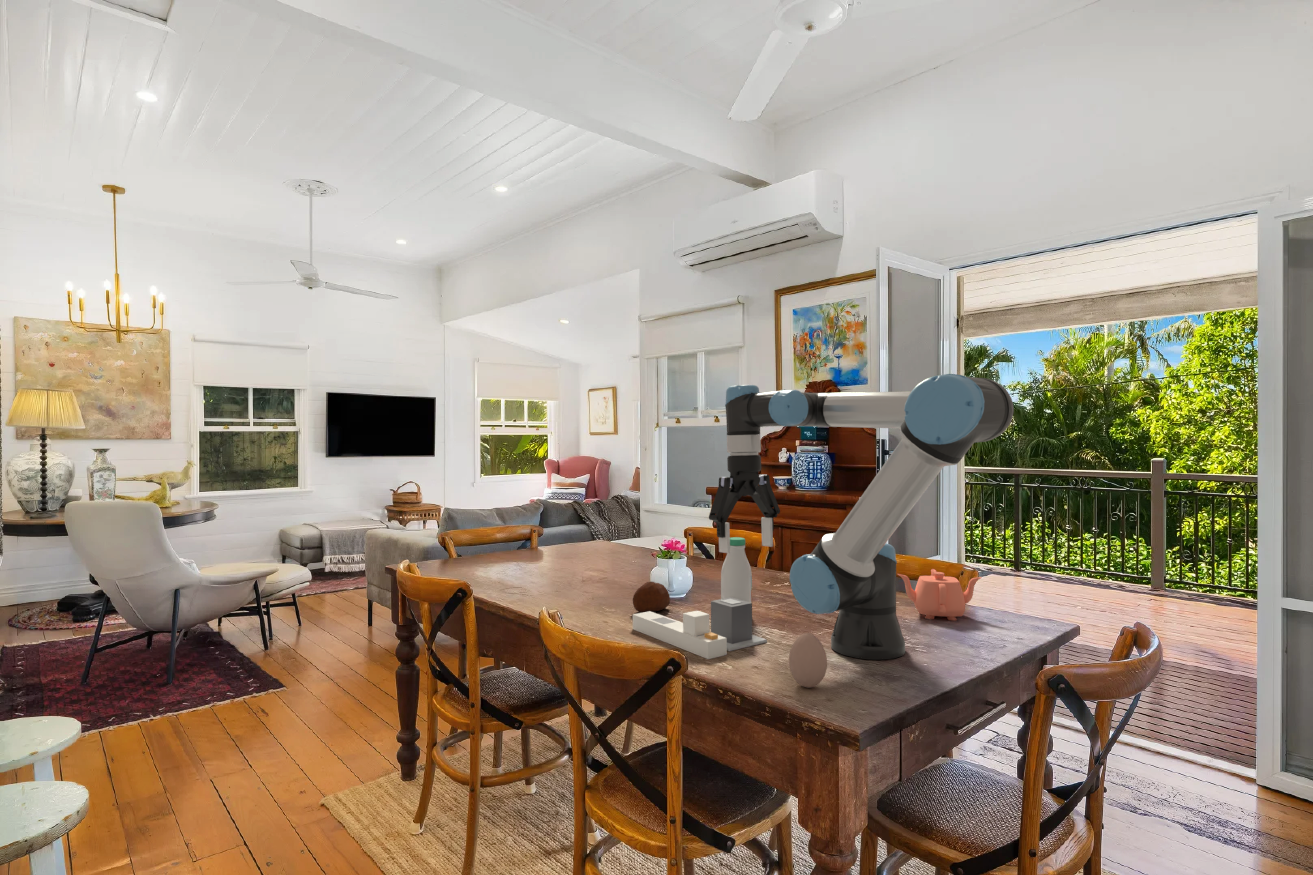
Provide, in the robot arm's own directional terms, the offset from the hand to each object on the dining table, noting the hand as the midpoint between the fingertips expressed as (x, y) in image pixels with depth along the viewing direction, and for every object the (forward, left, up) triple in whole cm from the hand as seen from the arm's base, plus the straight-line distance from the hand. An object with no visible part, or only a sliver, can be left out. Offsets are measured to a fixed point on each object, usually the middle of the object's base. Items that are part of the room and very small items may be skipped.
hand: (746, 549), depth 159 cm
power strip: (+8, +14, -20) cm, 26 cm away
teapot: (-13, -53, -20) cm, 59 cm away
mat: (+1, +4, -20) cm, 21 cm away
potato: (+33, +3, -20) cm, 39 cm away
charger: (+1, +4, -20) cm, 20 cm away
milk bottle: (+15, -10, -20) cm, 28 cm away
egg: (-29, +12, -20) cm, 37 cm away
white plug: (+1, +14, -17) cm, 22 cm away
